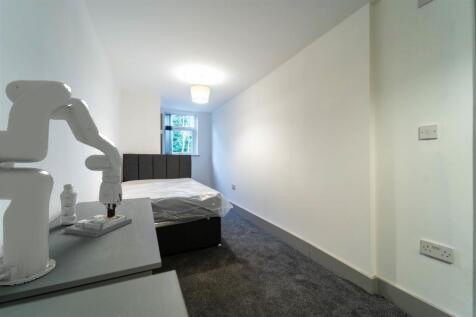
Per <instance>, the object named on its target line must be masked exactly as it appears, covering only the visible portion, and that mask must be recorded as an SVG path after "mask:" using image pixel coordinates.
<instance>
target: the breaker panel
mask: <svg viewBox="0 0 476 317" xmlns="http://www.w3.org/2000/svg"><path fill="white" fill-rule="evenodd" d="M106 216H107V214H106V215H104V214H97V215H94V216H92V217H91V219H80V220H78V221H77V220H76V222H75V224H74V225H73V224H72V225H70V226H67V227H64V233H65V234H66V233H67V234H71V235H79V236H84V237H85V236H86V237H87V236H88V237H93V238H99V237H101V236H103V235H105V234H107V233H110V232H112V231H115V230H116V229H119V228H122V227H124V226H126V225H129V224H131V223H132V222H133V219H132V218H131V217H127V216H126V215H119V214H115V216H116V217H117V219H116V220H113V221H110V222H107V223H104V224H99V223H94V220H97V219H100V218H103V217H106Z"/></svg>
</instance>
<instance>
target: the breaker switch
mask: <svg viewBox="0 0 476 317" xmlns="http://www.w3.org/2000/svg"><path fill="white" fill-rule="evenodd" d="M116 219H117V217H116V216H113V217H107V216H106V217H103V218H100V219H97V220H94V223H99V224H104V223H107V222H110V221H113V220H116Z"/></svg>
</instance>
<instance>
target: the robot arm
mask: <svg viewBox="0 0 476 317" xmlns="http://www.w3.org/2000/svg"><path fill="white" fill-rule="evenodd" d="M4 91H5V94H6V97H7V99H8V100H9V101H10V102H11V103H12V105H11V106H10V109H9V113H8V122H7V128H6V130H0V200H3V201H4V200H9V201H10V203H9V204H8V206H7V207H6V209H5V211H4V212H3V217H2V263H1V264H0V285H10V286H15V284H16V285H20V284H25V283H27V282H31V281H34V280H36V278H37V279H39V278H41V277H43V276H45V275H47V274H49V273H50V272H52V271H54V269H55V267H56V263H57V262H56V260H55V259H53V258H50V204H51V203H50V202H51V197H52V196H51V195H52V192H53V189H54V182H55V181H54V177H53V176H52V174H51V173H50V172H48V171H47V170H46V169H45V170H44V169H42V168H38V167H37V168H36V167H24V166H23V167H19V166H18V167H15V164H17V163H18V164H31V163H39V162H41V161H44V160H45V159H46V157H47V155H48V152H49V136H50V135H49V134H50V133H49V132H50V131H49V130H50V120H52V121H66V123H67V125H68V127H69V129H70V132H71V133H72V134H73V137H74V138H75V140H76V141H77V142H79V143H82V144H84V145H86V146H89V147H92V148H93V149H96V150H99V151H100V152H101V153H103V154H91V155H89V156H87V157H86V158H85V160H84V166H85V168H86V169H88V170H90V171H93V172H101V175H102V177H101V179H102V180H101V181H102V182H101V183H100V186H99V192H98V195H99V196H98V202H99V203H101V205H104V206H105V208H106V211H107V212H106V215H107V217H113V216H115V215H116V209H117V208H118V206H121V205H122V201H123V188H122V183H121V168H122V165H123V164H122V163H123V161H122V157H121V154H120V152H119V149H118V147H117V146H116V145H115V144H114V142H112V141H111V140H110V139H109V138H108V137H106V136H104V135H103V134H102V133H100V131H99V129H98V126H97V124H96V122H95V119H94V117H93V114H92V113H91V111H90V108H89V106H88V104H87V103H86V102H85V101H84V100H82V99H80V98H78V97H77V98H76V97H72V90H71V87H69V86H68V85H67V84H66V83H64V82H62V81H58V80H43V79H42V80H41V79H40V80H38V79H37V80H35V79H34V80H31V79H30V80H29V79H28V80H26V79H25V80H24V79H22V80H21V79H17V80H13V81H10V82H9V83H7V84H6V87H5V90H4ZM24 282H25V283H24Z"/></svg>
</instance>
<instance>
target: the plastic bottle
mask: <svg viewBox="0 0 476 317" xmlns="http://www.w3.org/2000/svg"><path fill="white" fill-rule="evenodd" d="M62 188H63V190H62V191H61V193H60V195H59V200H60V206H61V207H60V208H61V210H60V216H59V224H60V225H61V226H69V225H70V226H71V225H73V224H76V222H77V220H78V216H77V213H76V210H77V209H76V203H77V197H78V193H77V192H76V190H75V189H74V184H73V183H68V184H67V183H66V184H63V187H62Z"/></svg>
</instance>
